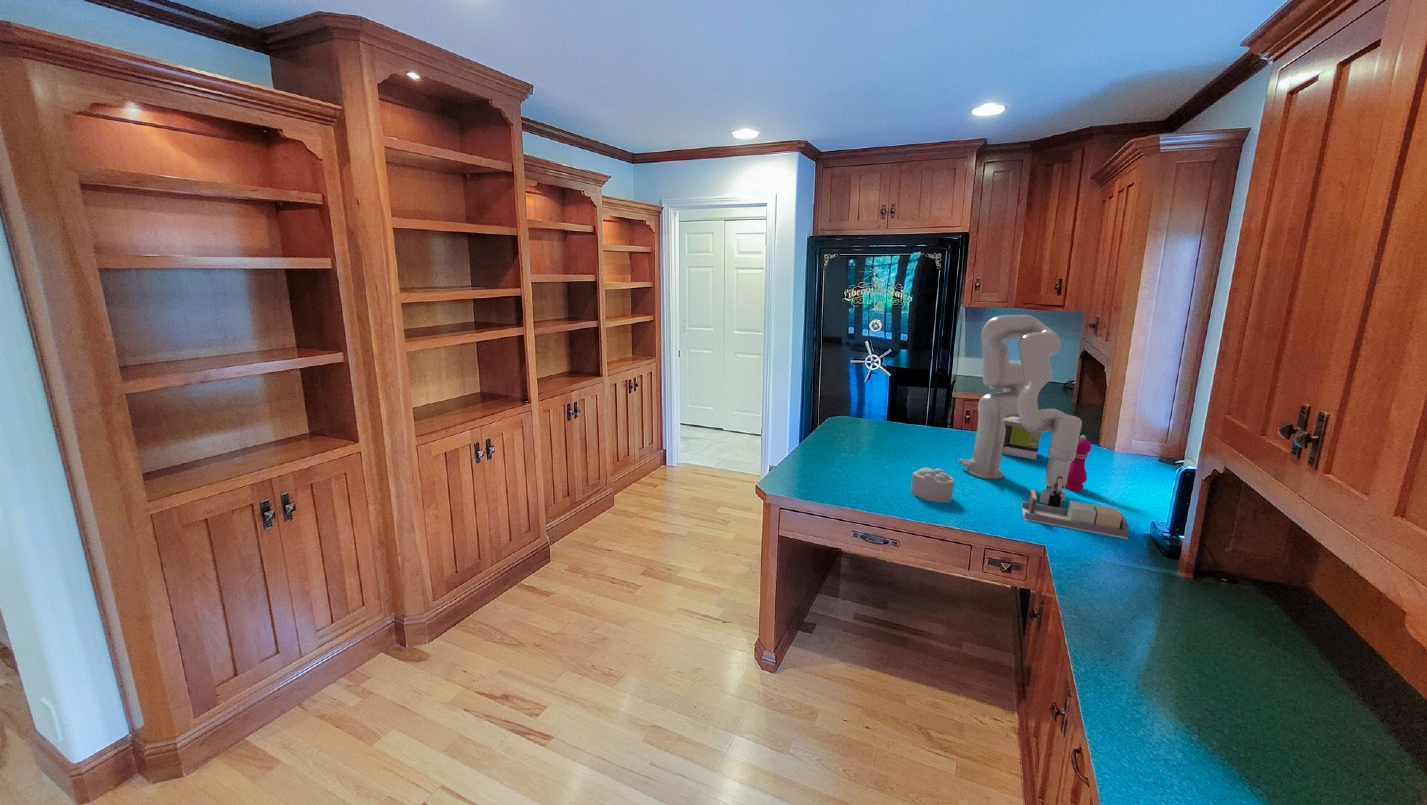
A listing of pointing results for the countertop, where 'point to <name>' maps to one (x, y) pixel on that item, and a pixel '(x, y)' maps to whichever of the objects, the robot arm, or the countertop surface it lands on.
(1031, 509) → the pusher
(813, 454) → the countertop surface
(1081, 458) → the pepper mill
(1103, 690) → the countertop surface
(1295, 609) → the countertop surface
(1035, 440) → the tea box
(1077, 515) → the sage box
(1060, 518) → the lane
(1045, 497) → the small box
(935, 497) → the lumpy-topped squat cylinder
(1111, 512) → the kraft box
